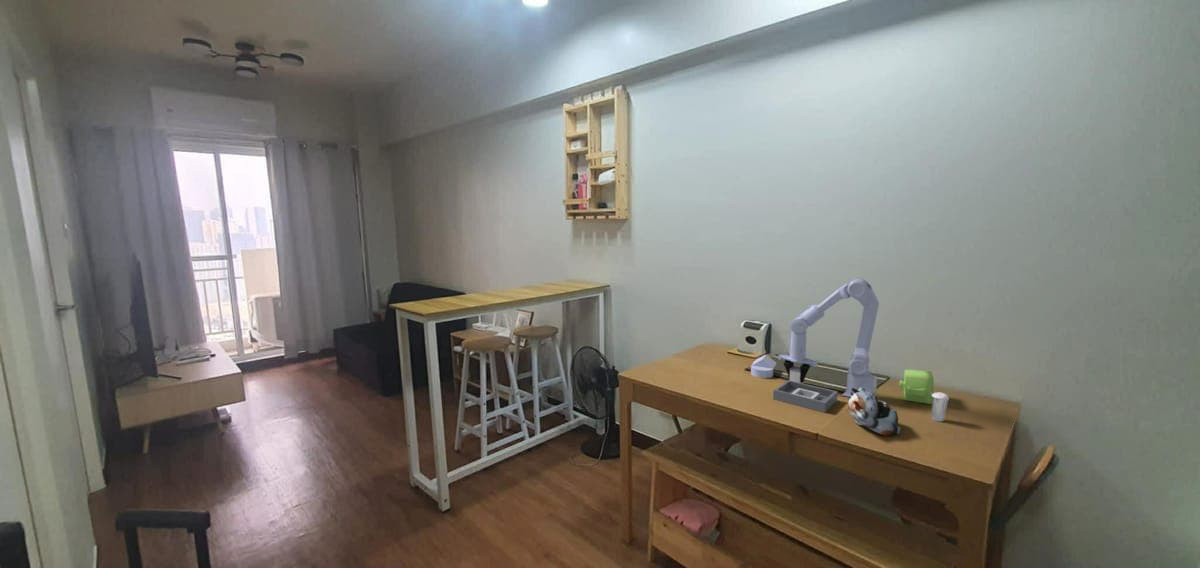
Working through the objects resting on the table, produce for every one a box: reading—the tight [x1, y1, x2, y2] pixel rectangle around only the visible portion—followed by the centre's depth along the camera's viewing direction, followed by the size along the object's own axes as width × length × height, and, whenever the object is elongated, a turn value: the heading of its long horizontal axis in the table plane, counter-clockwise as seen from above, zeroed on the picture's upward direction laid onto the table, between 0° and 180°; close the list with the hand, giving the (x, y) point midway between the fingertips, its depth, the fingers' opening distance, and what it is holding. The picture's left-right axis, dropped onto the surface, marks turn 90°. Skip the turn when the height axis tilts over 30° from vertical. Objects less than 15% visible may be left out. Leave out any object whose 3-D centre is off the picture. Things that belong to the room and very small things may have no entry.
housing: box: [772, 379, 839, 414], centre depth 168 cm, size 18×14×4 cm
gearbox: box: [899, 369, 935, 405], centre depth 170 cm, size 18×10×10 cm, turn 149°
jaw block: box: [788, 365, 801, 383], centre depth 183 cm, size 4×4×7 cm
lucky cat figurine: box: [847, 388, 902, 437], centre depth 146 cm, size 15×12×14 cm
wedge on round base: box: [750, 354, 777, 379], centre depth 197 cm, size 9×7×13 cm
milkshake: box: [929, 389, 950, 423], centre depth 151 cm, size 4×5×10 cm
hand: (796, 380), depth 183 cm, fingers closed on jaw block, 4 cm apart
